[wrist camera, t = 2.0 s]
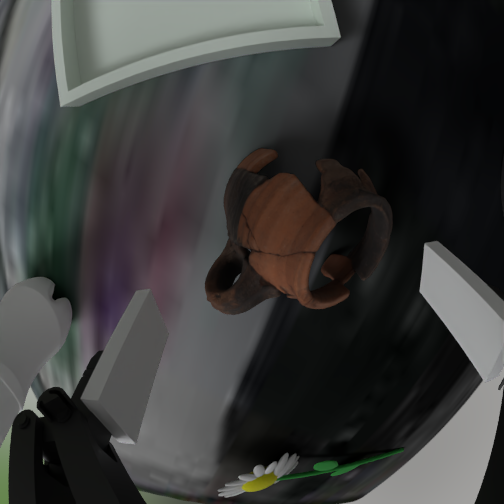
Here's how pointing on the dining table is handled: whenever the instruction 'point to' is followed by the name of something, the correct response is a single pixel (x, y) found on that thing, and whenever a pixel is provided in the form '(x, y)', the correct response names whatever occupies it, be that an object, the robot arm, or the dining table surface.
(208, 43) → the tray
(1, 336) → the water bottle
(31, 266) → the dining table surface
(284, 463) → the decorative flower
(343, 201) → the broken clay pot
